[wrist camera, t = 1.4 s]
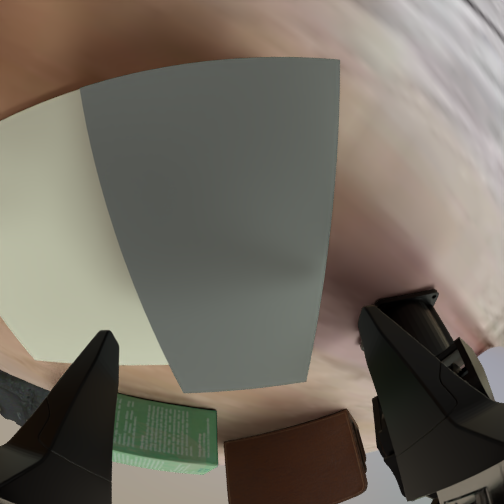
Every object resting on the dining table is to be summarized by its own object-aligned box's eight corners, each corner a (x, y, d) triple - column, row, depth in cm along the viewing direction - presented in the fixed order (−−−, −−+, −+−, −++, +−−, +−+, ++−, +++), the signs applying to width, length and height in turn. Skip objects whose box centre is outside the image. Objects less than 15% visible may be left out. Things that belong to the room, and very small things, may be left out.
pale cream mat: (92, 85, 11) (89, 86, 11) (175, 360, 24) (174, 364, 24) (-70, 162, 11) (-73, 164, 10) (36, 357, 24) (34, 360, 23)
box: (101, 387, 27) (92, 447, 22) (217, 407, 31) (221, 466, 25) (104, 410, 31) (98, 460, 25) (203, 426, 35) (205, 476, 29)
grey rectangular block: (310, 58, 9) (339, 59, 7) (297, 343, 19) (306, 381, 16) (112, 79, 9) (79, 87, 6) (185, 353, 18) (183, 393, 16)
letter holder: (222, 440, 40) (228, 521, 28) (347, 407, 36) (370, 496, 25) (250, 452, 45) (258, 520, 34) (357, 422, 42) (376, 495, 30)
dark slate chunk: (92, 431, 38) (89, 455, 34) (-15, 389, 31) (-22, 410, 27) (88, 399, 30) (82, 431, 26) (-43, 343, 23) (-55, 369, 20)
